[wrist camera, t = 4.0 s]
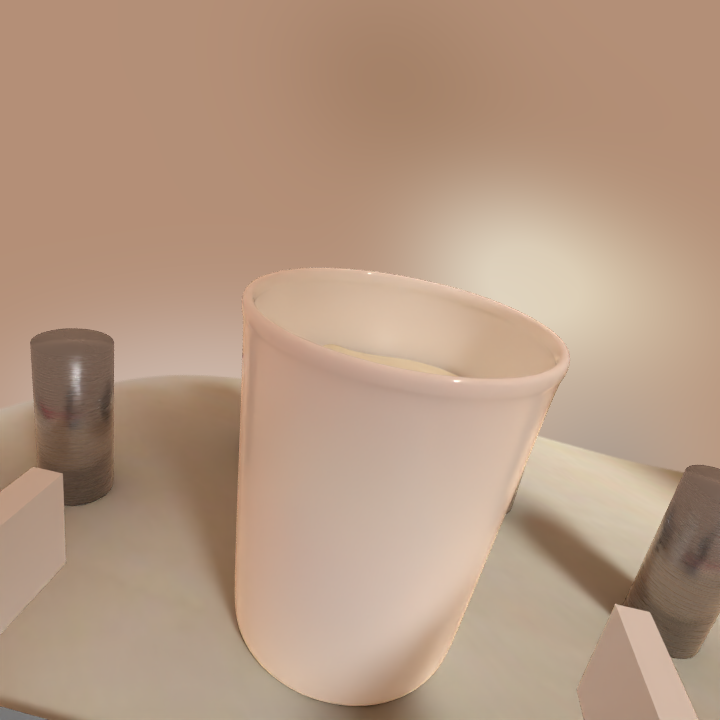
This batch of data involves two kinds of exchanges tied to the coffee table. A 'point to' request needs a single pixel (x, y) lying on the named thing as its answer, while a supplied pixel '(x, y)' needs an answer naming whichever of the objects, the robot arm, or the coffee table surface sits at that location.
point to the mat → (16, 715)
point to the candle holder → (375, 469)
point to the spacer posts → (654, 579)
